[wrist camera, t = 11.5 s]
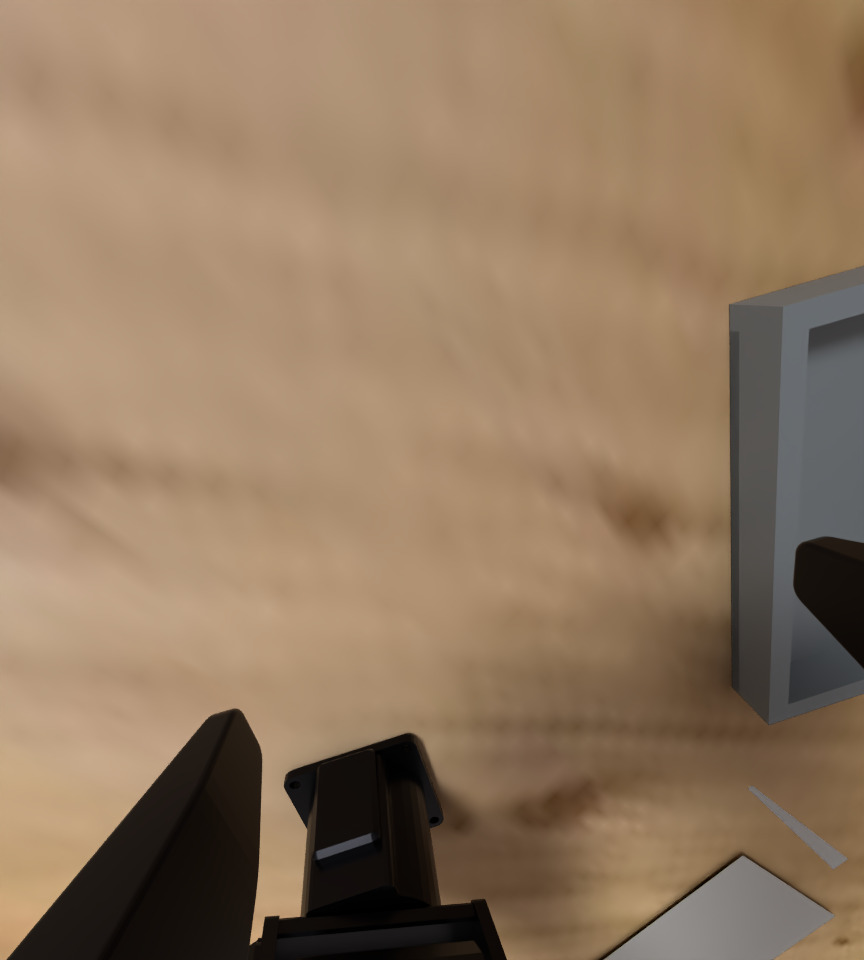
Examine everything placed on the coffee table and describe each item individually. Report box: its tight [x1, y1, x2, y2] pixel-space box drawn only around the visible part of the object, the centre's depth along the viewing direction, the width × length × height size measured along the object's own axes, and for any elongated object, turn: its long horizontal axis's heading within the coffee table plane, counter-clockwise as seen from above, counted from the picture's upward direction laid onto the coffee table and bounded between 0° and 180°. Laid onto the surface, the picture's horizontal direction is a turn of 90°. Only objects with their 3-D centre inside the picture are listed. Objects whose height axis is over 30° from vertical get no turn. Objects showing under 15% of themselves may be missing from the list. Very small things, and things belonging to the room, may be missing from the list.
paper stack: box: [604, 786, 847, 960], centre depth 34 cm, size 23×25×1 cm
